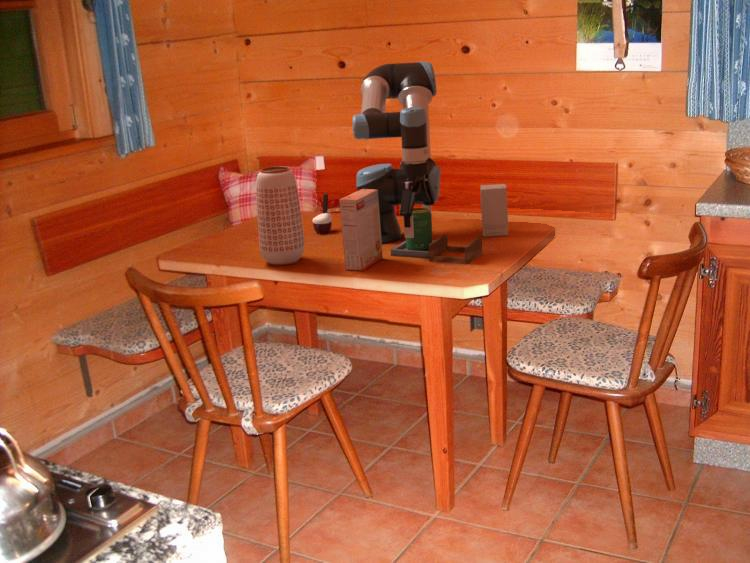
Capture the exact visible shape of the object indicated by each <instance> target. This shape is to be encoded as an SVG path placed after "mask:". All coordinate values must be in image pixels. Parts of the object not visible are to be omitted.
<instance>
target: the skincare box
mask: <svg viewBox="0 0 750 563" xmlns="http://www.w3.org/2000/svg"><path fill="white" fill-rule="evenodd" d="M479 188H480V209H481V210H480V211H481V228H482V230H481V231H482V238H486V236H487V237H500V236H501V237H502V236H504V237H505V236H508V235H509V218H508V213H509V212H508V188H507V185H506V183H498V184H497V183H496V184H494V183H493V184H481V185H480V187H479Z"/></svg>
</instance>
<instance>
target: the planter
mask: <svg viewBox="0 0 750 563" xmlns="http://www.w3.org/2000/svg"><path fill="white" fill-rule="evenodd" d="M255 183H256V184H255V185H256V187H255V188H256V192H255V194H256V196H255V197H256V219H257V230H258V241H259V242H258V243H259V250H260V254H261V255H262V256H261V257H263V259H264V260H265V261H266V262H268V263H269V265H270V266H277V267H282V266H283V267H284V266H290V265H294V264H297V263H298V262H299V260H300V259H301V258H302V255H303V254H304V251H305V244H306V243H305V235H304V227H303V218H302V210H301V205H300V203H301V202H300V198H299V196H300V195H299V191H298V187H297V186H298V185H297V181H296V177H295V174H294V172H293V171H292V169H290V168H289V167H288V166H284V165H283V166H282V165H280V166H279V165H277V166H268V167H264V168H261V169H260V171H259V172H258V174H257V176H256V181H255Z"/></svg>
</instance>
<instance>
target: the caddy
mask: <svg viewBox="0 0 750 563" xmlns="http://www.w3.org/2000/svg"><path fill="white" fill-rule="evenodd" d="M448 241H449V240H448V233H444V234H443V235H441V236H439V237H438V238H436V239H435V240H434V241H433V242H432V243H430V244H429V258H428V260H429V262H435V263H449V264H451V263H452V264H462V265H469V264H470V263H472V262H473V261H475V259H476V258H478V257H480V255H483V253H484V252H483V235H482V236H480V235H479V236H477V237H475V239H473V240H472V241H471V242H469V243H468V244H467V245H465V246H459V245H458V246H457V245H449V244H448V243H449V242H448ZM447 252H450V253H451V252H452V253H464V257H463V256H462V257H460V256H458V257H457V256H445V255H443V254H445V253H447Z"/></svg>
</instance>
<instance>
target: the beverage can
mask: <svg viewBox="0 0 750 563" xmlns="http://www.w3.org/2000/svg"><path fill="white" fill-rule="evenodd" d="M431 215H432V212H431V213H430V211H429V209H427V208H422V207H415V208H414V207H413V211H412V215H411V216H413V225H414V238H405V241H406V247H407V249H408V250H414V251H429V244H430V243H432V240H433V219H432V218H433V217H431Z"/></svg>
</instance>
